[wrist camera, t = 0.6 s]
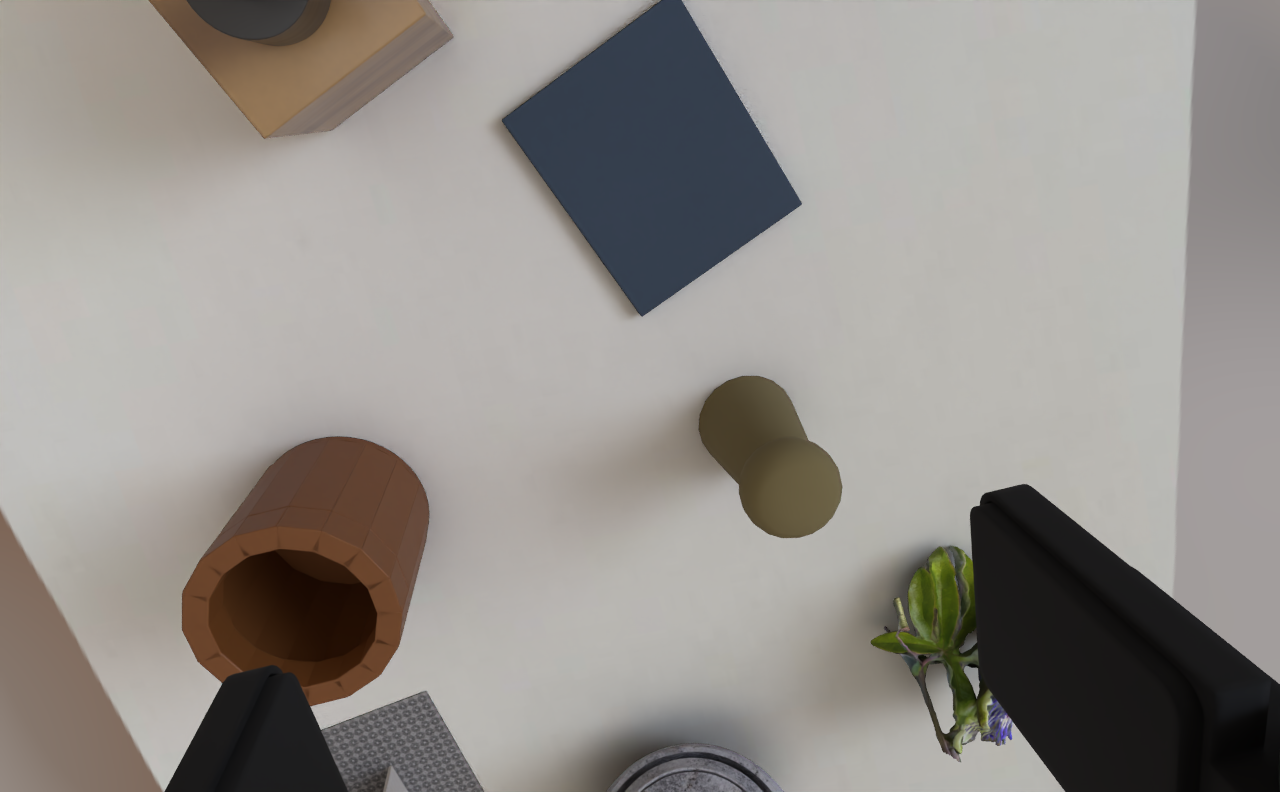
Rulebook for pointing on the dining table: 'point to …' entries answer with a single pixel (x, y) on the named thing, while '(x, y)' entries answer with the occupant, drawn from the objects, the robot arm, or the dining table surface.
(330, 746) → the architectural model
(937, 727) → the passion flower
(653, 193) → the mat
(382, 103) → the dining table surface
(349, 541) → the jar
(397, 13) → the tall wooden block
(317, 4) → the brush
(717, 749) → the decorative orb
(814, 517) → the olive game pawn
